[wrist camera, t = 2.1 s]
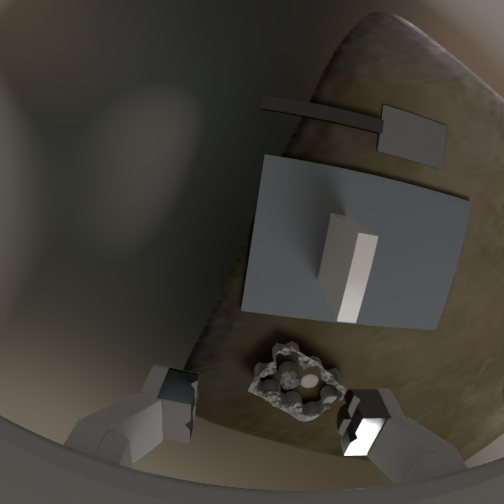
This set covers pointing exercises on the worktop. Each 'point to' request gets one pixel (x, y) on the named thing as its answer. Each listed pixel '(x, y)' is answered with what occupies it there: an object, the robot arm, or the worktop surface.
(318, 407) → the egg carton
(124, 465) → the robot arm
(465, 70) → the worktop surface
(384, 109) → the turner
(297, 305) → the mat
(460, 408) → the worktop surface
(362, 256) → the tile
